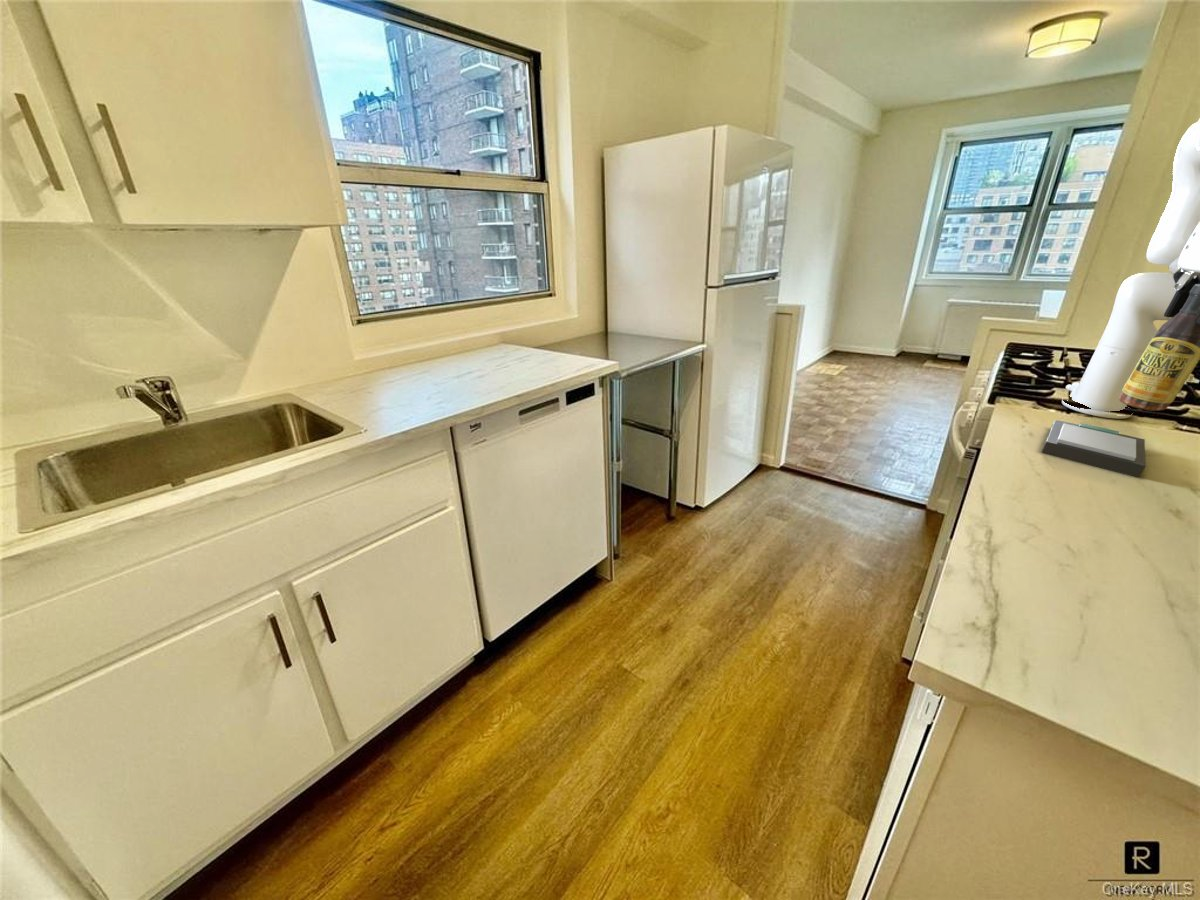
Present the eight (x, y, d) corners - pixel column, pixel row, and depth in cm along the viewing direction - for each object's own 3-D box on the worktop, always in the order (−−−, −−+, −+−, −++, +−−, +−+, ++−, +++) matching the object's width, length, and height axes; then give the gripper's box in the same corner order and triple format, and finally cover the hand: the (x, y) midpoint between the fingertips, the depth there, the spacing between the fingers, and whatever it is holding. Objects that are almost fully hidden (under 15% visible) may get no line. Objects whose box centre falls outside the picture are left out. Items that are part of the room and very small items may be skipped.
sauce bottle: (1108, 402, 84) (1169, 283, 75) (1127, 396, 86) (1189, 281, 77) (1159, 415, 79) (1231, 289, 70) (1178, 409, 81) (1250, 286, 72)
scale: (1050, 429, 107) (1056, 416, 106) (1138, 449, 99) (1146, 435, 97) (1041, 452, 97) (1048, 438, 96) (1138, 477, 88) (1148, 462, 87)
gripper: (1376, 188, 60) (1279, 334, 68) (1228, 189, 75) (1164, 309, 83) (1311, 188, 60) (1223, 334, 69) (1177, 189, 75) (1118, 309, 84)
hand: (1191, 319), depth 76 cm, fingers closed on sauce bottle, 4 cm apart
